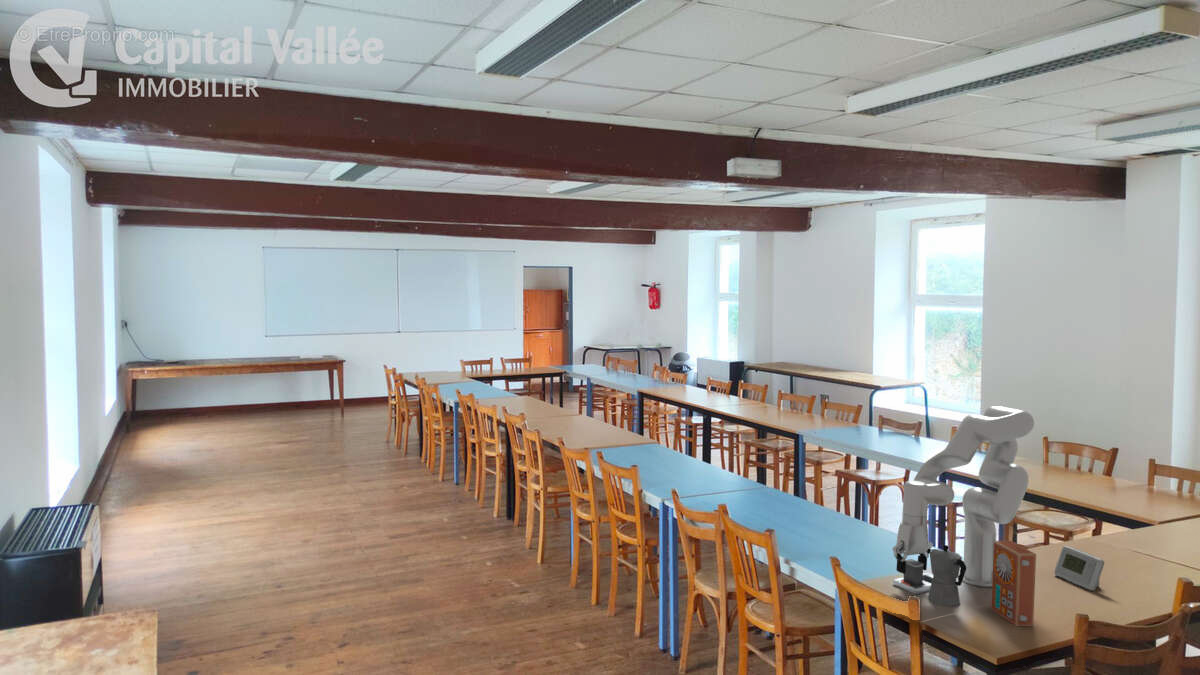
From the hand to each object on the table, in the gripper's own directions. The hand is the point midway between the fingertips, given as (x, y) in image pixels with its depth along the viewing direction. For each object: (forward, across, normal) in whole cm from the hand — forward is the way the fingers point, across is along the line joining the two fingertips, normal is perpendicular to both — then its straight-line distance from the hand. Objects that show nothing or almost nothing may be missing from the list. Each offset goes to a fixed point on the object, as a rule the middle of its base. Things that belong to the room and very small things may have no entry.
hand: (911, 570), depth 251 cm
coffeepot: (+6, 0, +13) cm, 15 cm away
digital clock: (+4, -56, +20) cm, 60 cm away
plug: (+6, -1, 0) cm, 6 cm away
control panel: (+6, -9, +30) cm, 32 cm away
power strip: (+6, -5, 0) cm, 8 cm away
